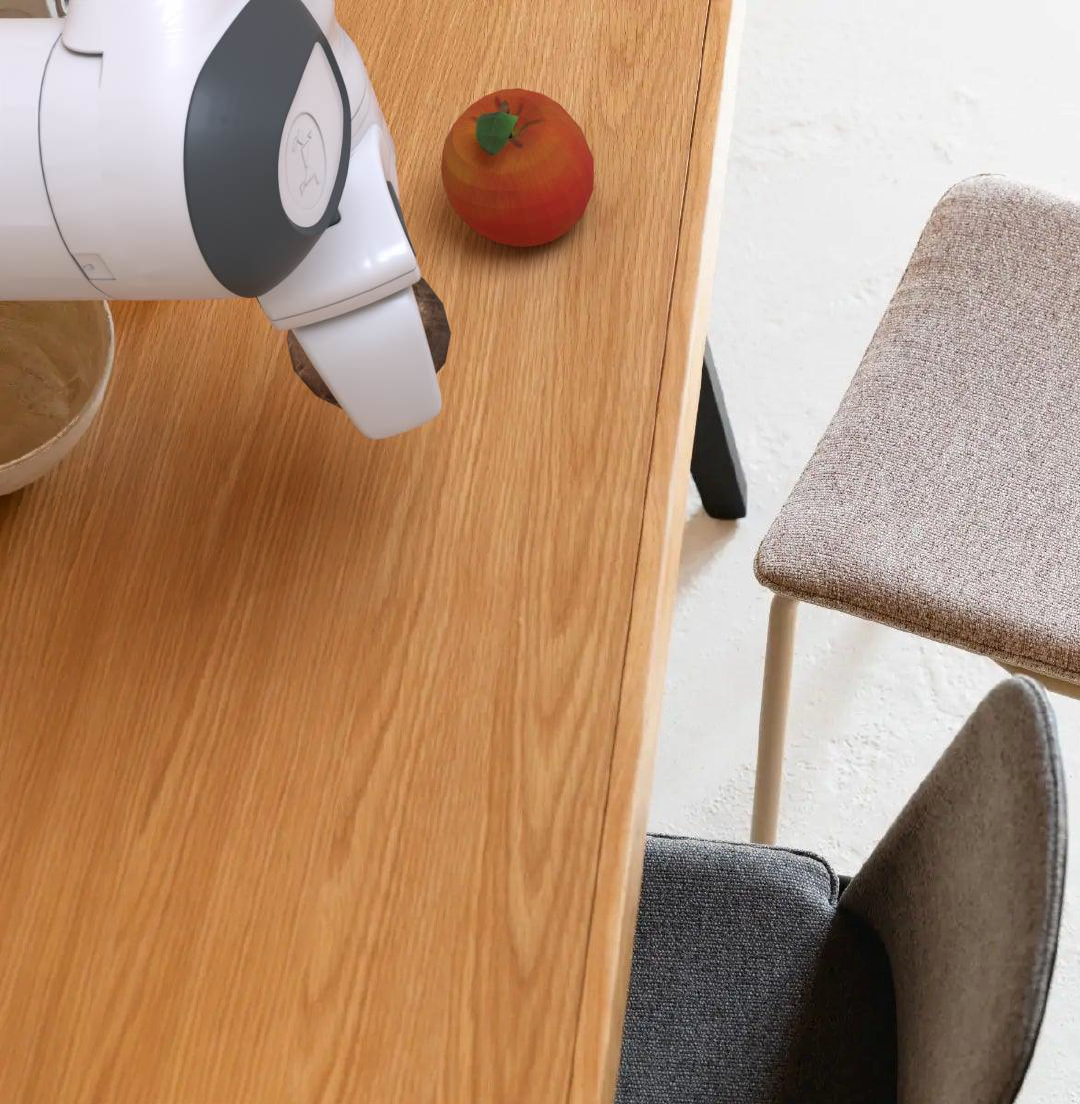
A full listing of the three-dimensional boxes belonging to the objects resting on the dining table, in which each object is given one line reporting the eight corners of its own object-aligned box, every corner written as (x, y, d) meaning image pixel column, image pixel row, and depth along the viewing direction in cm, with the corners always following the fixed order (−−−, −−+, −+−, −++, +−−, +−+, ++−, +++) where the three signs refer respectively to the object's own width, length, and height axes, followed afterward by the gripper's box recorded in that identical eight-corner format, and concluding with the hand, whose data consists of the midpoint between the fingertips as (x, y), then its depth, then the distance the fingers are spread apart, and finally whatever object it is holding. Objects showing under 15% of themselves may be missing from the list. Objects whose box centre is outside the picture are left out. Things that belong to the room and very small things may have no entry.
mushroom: (272, 270, 76) (287, 241, 71) (428, 274, 80) (454, 246, 74) (283, 424, 76) (299, 407, 70) (439, 421, 80) (466, 404, 74)
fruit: (615, 165, 99) (592, 48, 90) (589, 276, 94) (562, 164, 86) (476, 156, 100) (440, 39, 91) (444, 265, 95) (402, 153, 86)
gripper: (154, 18, 67) (261, 225, 79) (274, 340, 58) (374, 519, 70) (289, -25, 68) (374, 186, 80) (427, 284, 59) (500, 469, 71)
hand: (375, 343), depth 75 cm, fingers closed on mushroom, 7 cm apart
